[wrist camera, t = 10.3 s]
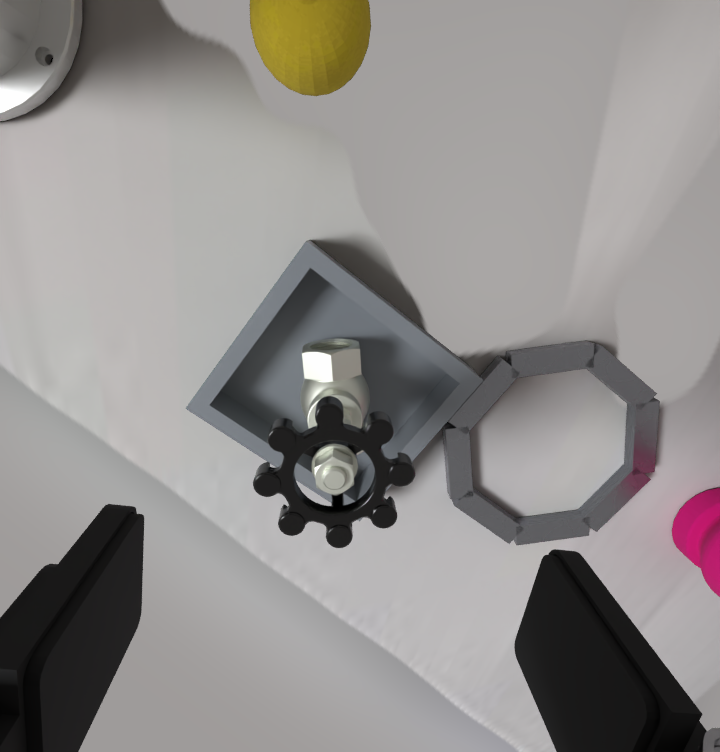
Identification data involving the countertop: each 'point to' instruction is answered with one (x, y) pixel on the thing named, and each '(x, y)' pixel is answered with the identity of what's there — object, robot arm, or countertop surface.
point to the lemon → (311, 41)
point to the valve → (334, 447)
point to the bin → (332, 321)
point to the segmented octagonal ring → (600, 503)
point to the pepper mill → (701, 534)
